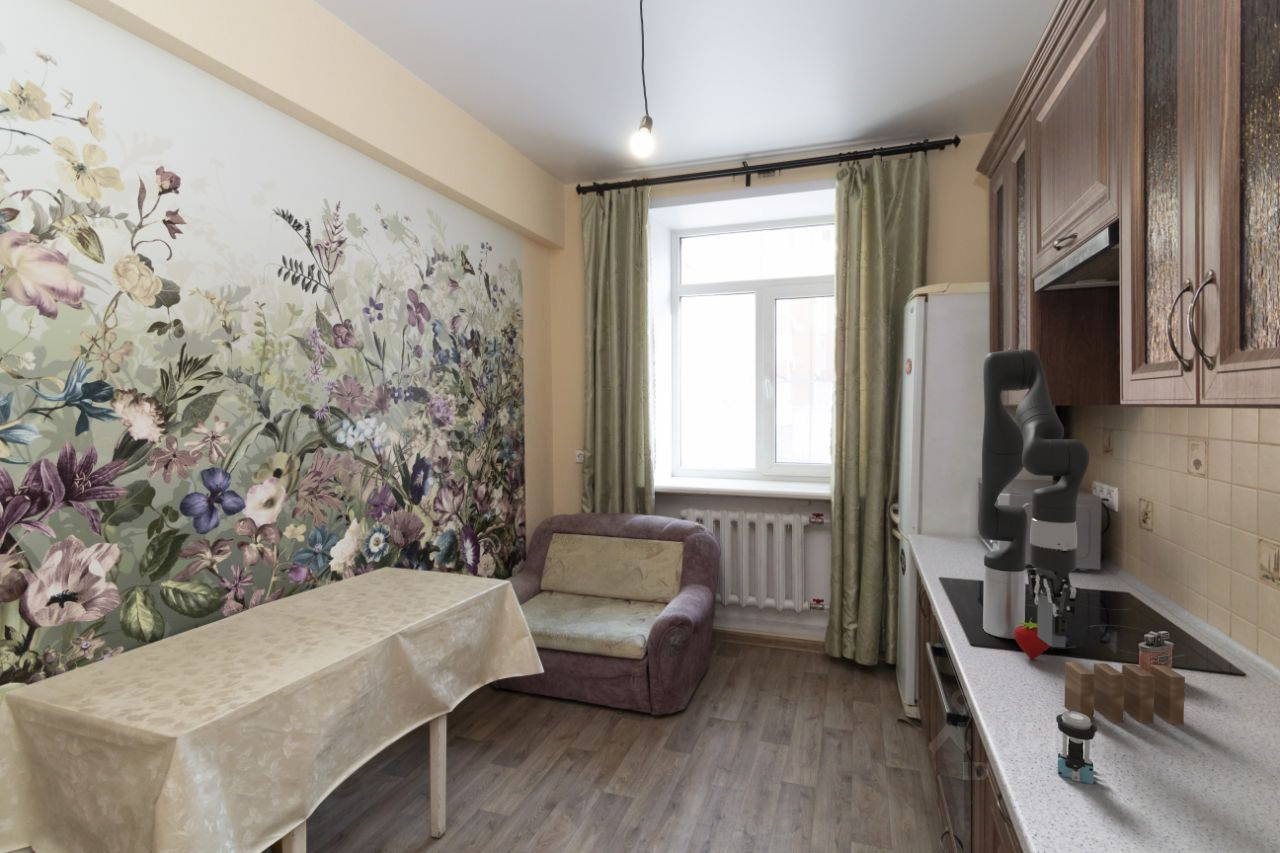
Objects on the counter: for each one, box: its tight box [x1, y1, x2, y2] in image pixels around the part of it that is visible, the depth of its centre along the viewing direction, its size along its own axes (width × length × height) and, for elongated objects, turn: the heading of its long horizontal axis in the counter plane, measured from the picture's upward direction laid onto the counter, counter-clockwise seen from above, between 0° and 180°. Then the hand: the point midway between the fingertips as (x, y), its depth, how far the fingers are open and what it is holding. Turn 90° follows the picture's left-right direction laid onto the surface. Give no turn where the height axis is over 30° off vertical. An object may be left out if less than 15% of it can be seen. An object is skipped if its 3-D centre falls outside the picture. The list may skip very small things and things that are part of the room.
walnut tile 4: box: [1063, 661, 1095, 722], centre depth 117 cm, size 2×5×9 cm, turn 174°
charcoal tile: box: [1037, 593, 1067, 648], centre depth 117 cm, size 2×5×9 cm, turn 174°
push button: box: [1055, 710, 1107, 785], centre depth 97 cm, size 7×5×10 cm
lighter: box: [1137, 630, 1175, 674], centre depth 131 cm, size 8×3×10 cm, turn 106°
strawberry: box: [1014, 617, 1051, 659], centre depth 141 cm, size 6×8×10 cm
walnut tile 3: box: [1092, 662, 1124, 723], centre depth 116 cm, size 2×5×9 cm, turn 174°
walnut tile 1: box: [1151, 665, 1186, 725], centre depth 115 cm, size 2×5×9 cm, turn 174°
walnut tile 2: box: [1121, 663, 1155, 724], centre depth 116 cm, size 2×5×9 cm, turn 174°
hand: (1051, 629), depth 117 cm, fingers closed on charcoal tile, 5 cm apart
